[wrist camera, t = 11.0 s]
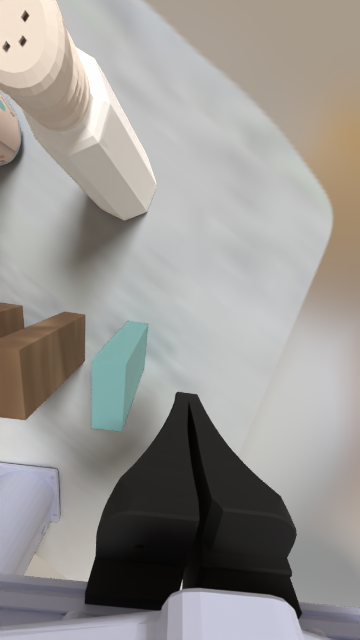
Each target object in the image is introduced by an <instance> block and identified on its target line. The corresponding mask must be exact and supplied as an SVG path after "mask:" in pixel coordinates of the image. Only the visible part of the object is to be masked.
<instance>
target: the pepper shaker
mask: <svg viewBox="0 0 360 640" xmlns="http://www.w3.org/2000/svg"><path fill="white" fill-rule="evenodd" d="M0 89H1V90H2V91H3V92H4V93H6V94H8V95H10V97H11V98H12V99H13V100H14V101H15V102H16V103H17V104H18V105H19V106H20V107H21V108H22V110H23V112H24V115H25V117H26V119H27V121H28V123H29V125H30V128H31V130H32V132H33V134H34V136H35V139H36V140H37V141H38V142H39V143H40V144H41V146H42V147H43V148H44V149H45V150H46V152H47V153H48V154H49V155H50V156H51V157H52V158H53V159H54V160H55V161H56V162H57V163H58V164H59V165H60V166H61V167H62V168H63V169H64V171H65V172H66V173H67V174H68V175H69V176H70V177H71V178H72V179H73V180H74V181H75V182H76V183H77V184H78V185H79V186H80V187H81V188H82V190H83V191H84V192H85V193H86V194H87V195H88V196H89V197H90V198H91V199H92V200H93V201H94V202H95V203H96V204H97V205H98V206H99V207H100V209H102V210H104V211H106V212H108V213H110V214H112V215H114V216H116V217H118V218H120V219H122V220H124V221H125V220H128V219H130V218H133V217H135V216H138V215H140V214H143V213H145V212H147V211H148V208H149V205H150V203H151V200H152V198H153V195H154V193H155V190H156V187H157V184H156V181H155V178H154V175H153V172H152V169H151V166H150V163H149V160H148V157H147V155H146V153H145V151H144V149H143V147H142V145H141V143H140V142H139V140H138V138H137V136H136V134H135V132H134V130H133V128H132V127H131V125H130V123H129V121H128V119H127V117H126V115H125V113H124V111H123V110H122V108H121V106H120V104H119V102H118V100H117V98H116V96H115V95H114V93H113V91H112V89H111V87H110V85H109V83H108V81H107V79H106V78H105V76H104V74H103V72H102V71H101V69H100V67H99V66H98V64H97V62H96V61H95V59H94V58H92V57H91V56H89V55H87V54H86V53H84V52H82V51H81V50H79V49H77V48H76V47H75V45H74V43H73V41H72V39H71V36H70V34H69V33H68V31H67V30H66V26H65V23H64V20H63V17H62V15H61V12H60V9H59V7H58V5H57V2H56V0H0Z"/></svg>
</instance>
